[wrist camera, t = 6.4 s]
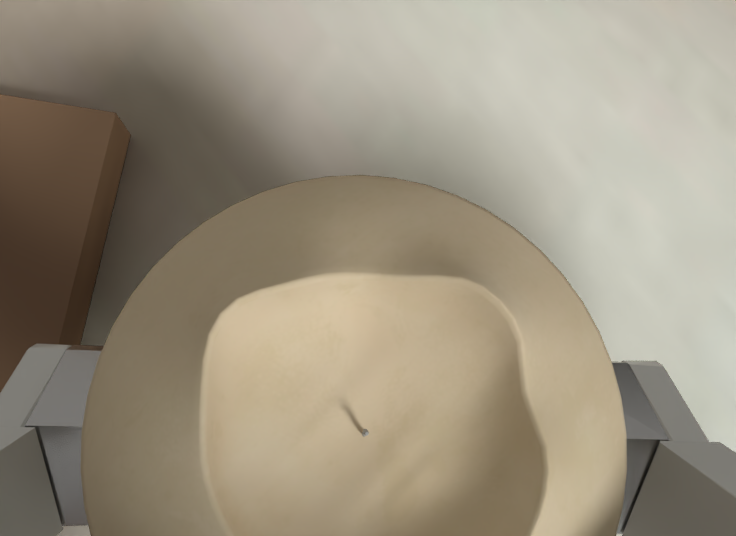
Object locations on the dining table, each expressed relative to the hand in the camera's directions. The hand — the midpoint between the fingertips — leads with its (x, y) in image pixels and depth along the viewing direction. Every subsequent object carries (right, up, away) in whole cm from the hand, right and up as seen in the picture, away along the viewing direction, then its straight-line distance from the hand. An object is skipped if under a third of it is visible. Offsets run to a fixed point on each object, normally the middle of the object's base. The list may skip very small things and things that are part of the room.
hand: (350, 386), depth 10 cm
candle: (0, -2, +5) cm, 6 cm away
